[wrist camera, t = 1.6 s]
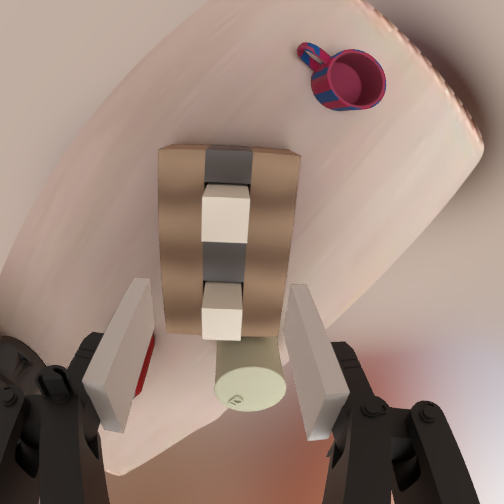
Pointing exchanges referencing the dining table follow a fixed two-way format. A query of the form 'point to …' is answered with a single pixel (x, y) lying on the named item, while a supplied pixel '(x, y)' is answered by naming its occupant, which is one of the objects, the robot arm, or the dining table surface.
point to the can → (249, 373)
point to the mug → (344, 78)
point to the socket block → (223, 253)
